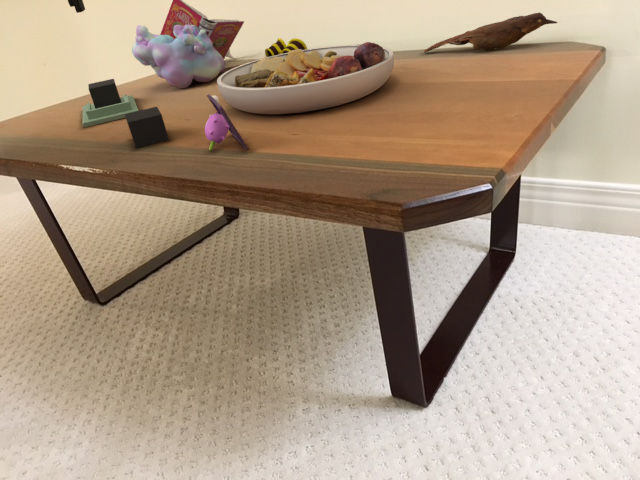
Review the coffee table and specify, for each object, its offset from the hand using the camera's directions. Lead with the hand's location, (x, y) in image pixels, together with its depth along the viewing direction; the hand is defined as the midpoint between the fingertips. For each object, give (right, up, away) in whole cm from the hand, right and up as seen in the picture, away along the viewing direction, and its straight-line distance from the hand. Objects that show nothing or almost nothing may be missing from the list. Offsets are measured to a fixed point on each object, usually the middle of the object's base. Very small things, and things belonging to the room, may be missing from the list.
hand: (117, 5), depth 73 cm
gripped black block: (+1, -16, +11) cm, 19 cm away
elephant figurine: (+2, +13, +63) cm, 64 cm away
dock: (-13, -7, +32) cm, 36 cm away
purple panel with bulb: (+14, -19, +2) cm, 24 cm away
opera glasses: (+20, +9, +51) cm, 55 cm away
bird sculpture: (+59, +5, +32) cm, 67 cm away
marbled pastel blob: (-1, +4, +49) cm, 49 cm away
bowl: (+25, -6, +21) cm, 34 cm away
